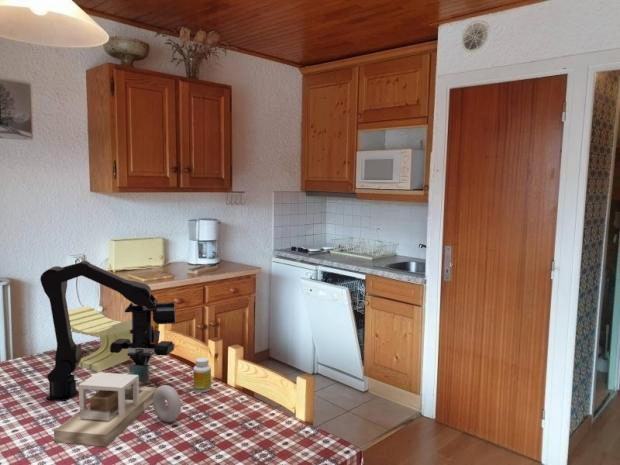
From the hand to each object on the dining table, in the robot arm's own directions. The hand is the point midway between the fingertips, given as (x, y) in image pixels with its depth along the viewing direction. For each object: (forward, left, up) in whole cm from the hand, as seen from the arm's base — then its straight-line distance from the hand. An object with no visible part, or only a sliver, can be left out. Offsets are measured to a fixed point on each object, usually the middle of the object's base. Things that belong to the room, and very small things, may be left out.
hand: (142, 373), depth 155 cm
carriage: (0, -14, -2) cm, 15 cm away
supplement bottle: (+18, +4, -6) cm, 19 cm away
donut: (+16, -18, -6) cm, 25 cm away
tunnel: (0, -19, -2) cm, 19 cm away
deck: (0, -19, -6) cm, 20 cm away
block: (0, -22, -2) cm, 22 cm away
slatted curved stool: (-26, +22, -6) cm, 34 cm away
